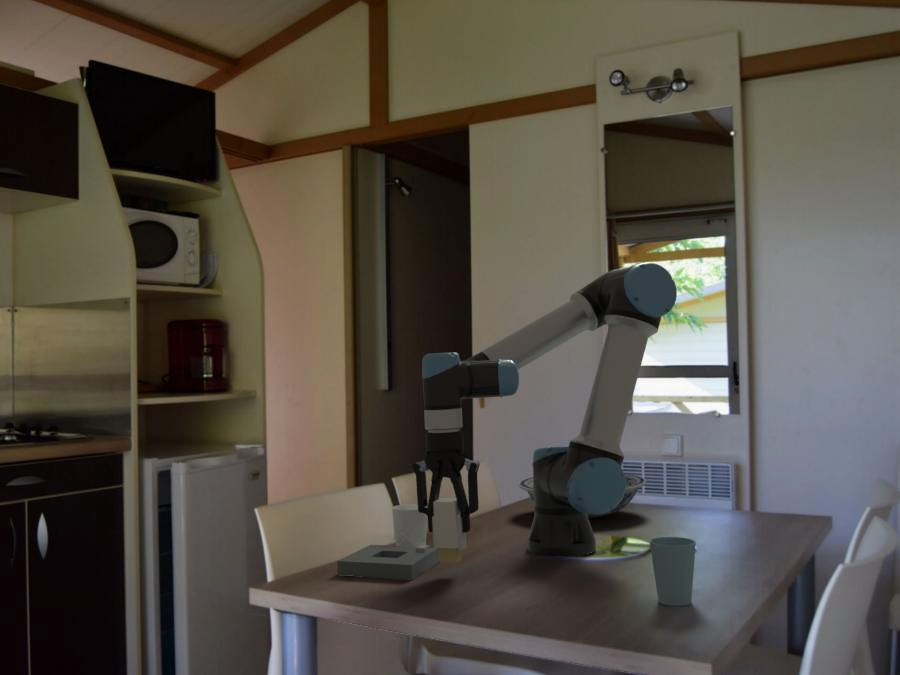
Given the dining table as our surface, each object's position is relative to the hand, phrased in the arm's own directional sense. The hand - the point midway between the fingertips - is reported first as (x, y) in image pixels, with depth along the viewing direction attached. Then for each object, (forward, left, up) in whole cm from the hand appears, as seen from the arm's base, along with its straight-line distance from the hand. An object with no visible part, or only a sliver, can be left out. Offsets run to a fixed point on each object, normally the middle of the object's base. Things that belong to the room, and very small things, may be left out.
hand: (450, 548), depth 170 cm
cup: (-43, +8, -6) cm, 45 cm away
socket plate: (+15, -4, -6) cm, 16 cm away
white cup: (+17, -21, -6) cm, 27 cm away
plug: (0, 0, -2) cm, 2 cm away
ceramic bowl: (-13, -73, -6) cm, 74 cm away
